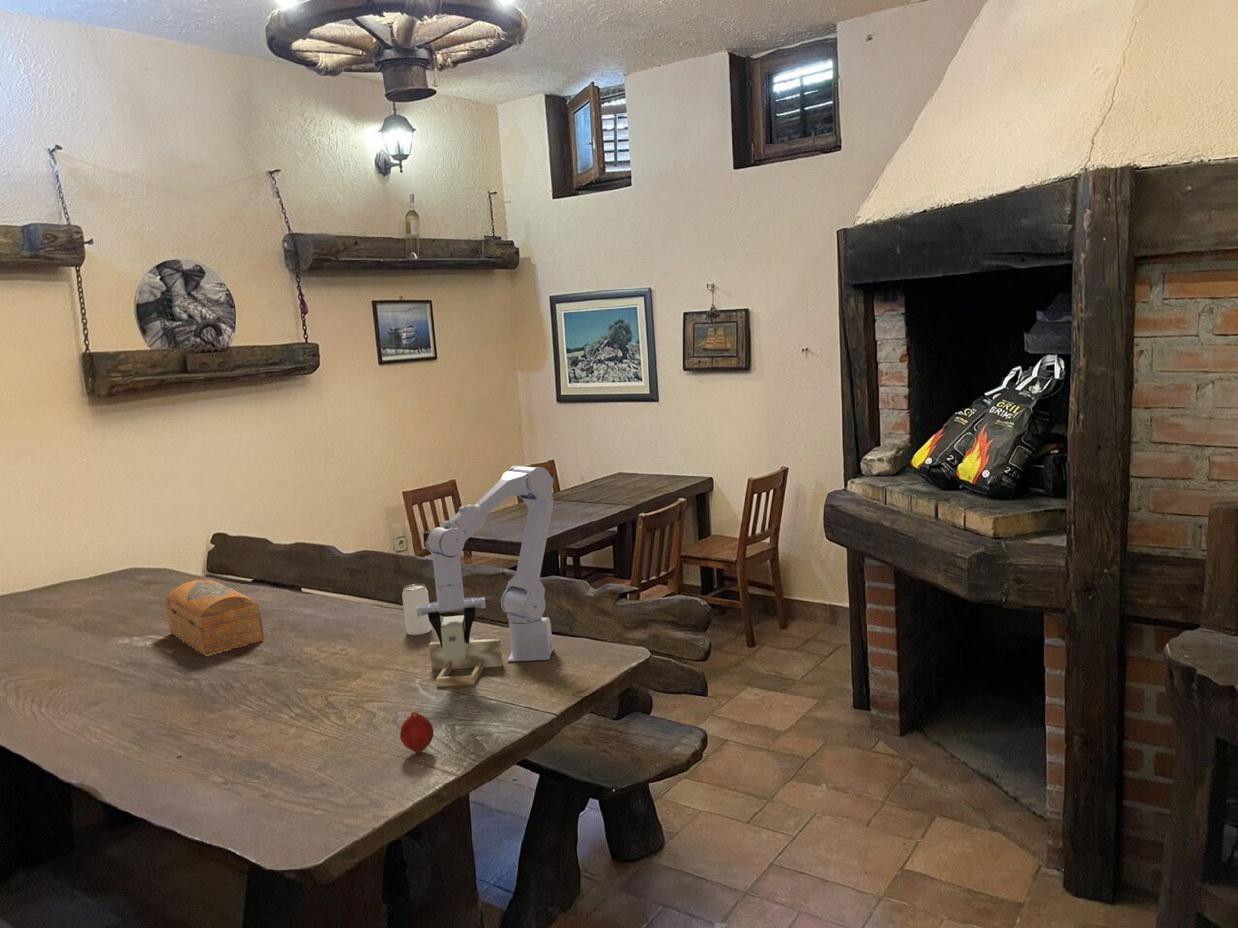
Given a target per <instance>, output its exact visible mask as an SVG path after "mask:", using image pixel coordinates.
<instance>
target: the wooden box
mask: <svg viewBox="0 0 1238 928" xmlns="http://www.w3.org/2000/svg"><path fill="white" fill-rule="evenodd" d="M165 599H166V600H165V601H166V603H165V604H166V613H167V622H168V628H169V632H171V633H172V634H174V635H175V636H177V637H178V638H180V639H181V640H183V641H184V642H186V643H187V644H188V645H190V646H191V647H193V648H194V649H196V650H198V651H199V652H201V653H202V654H203V655H205V656H206V655H209V654H213V653H217V652H220V651H224V650H227V649H233V648H236V647H240V646H244V645H247V644H251V643H255V642H259V641H263V640H264V641H265V635H264V630H263V629H264V628H263V621H262V616H261V612H260V608H259V607H260V606H259V604H258V602H256V601H254V600H253V599H252V598H250V597H249V596H247V595H246V594H243V593H241V592H239V591H237V590H235V589H233V588H232V587H229V586H225V585H223V584H222V583H220V582H217V581H214V580H212V579H211V580H210V579H195V580H192V581H187V582H185V583H182V584H180V585H178V586H177V587H175V588H174V589H173V590H171V592H170V593H169V594H168V595H167V596H166V598H165ZM171 633H170V634H171ZM172 634H171V635H172ZM178 638H177V639H178ZM181 640H180V641H181ZM264 641H263V642H264ZM184 642H183V643H184ZM259 643H260V642H259ZM187 644H186V645H187ZM255 644H256V643H255ZM188 645H187V646H188ZM190 646H189V647H190ZM191 647H190V648H191ZM244 647H245V646H244ZM193 648H192V649H193ZM194 649H193V650H194ZM196 650H195V651H196ZM199 652H198V653H199ZM202 654H201V655H202ZM203 655H202V656H203ZM205 656H204V657H205Z"/></svg>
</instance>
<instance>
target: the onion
mask: <svg viewBox="0 0 1238 928" xmlns="http://www.w3.org/2000/svg"><path fill="white" fill-rule="evenodd" d="M399 733H400V734H399V738H400V741H401V743H402V744H403V746H404V747H405V748H407V749H408V750H410V751H412V752H414V753H415V754H421V753H422V752H423V751H424V750H425V749H426V748H428V747H429V745H430V744H431V742H432V740H433V737H434V728H433V724H432V723H431V722H430V720H429V719H428V718H426V716H424V715H422V714H420V713H419V712H417V711H416V710H413V711H411V713H410V715H409V716H408V717H407V718H406V719H405V720H404V721H403V723H402V725H401V728H400V732H399Z"/></svg>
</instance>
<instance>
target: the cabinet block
mask: <svg viewBox="0 0 1238 928" xmlns="http://www.w3.org/2000/svg"><path fill="white" fill-rule="evenodd" d="M441 622H442V623H441V636H442V646H443V656H444V660H449V659H459V658H465V654H466V650H467V644H466V640H465V621H464V614H462V615H453V616H444V617H443V619H442V621H441Z"/></svg>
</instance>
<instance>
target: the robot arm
mask: <svg viewBox="0 0 1238 928" xmlns="http://www.w3.org/2000/svg"><path fill="white" fill-rule="evenodd" d="M554 481H555V480H554V478H553V476H551V473H550V472H549V471H548V470H547V469H546V468H545V467H542V466H537V467H536V466H535V467H534V466H525V465H524V466H523V465H520V464H515V465H513V466H511V467H510V468H509V469H508V471H505V472H504V473H502V476H501V478H500V479H499V481H498V482H496V483H495V484H494V485H493V486H492V487H491V488H490V490H488V491H487V492H486V493H485V494H484V495H483V496H482V497H481V498H480V499H479V500H478V501H477V502H476V503H475V504H469V503H468V504H466V505H461V506H460V507H458V510H459V511H458V512H457V513H455V515H453V516H452V517H451V518H449V520H445V521H444V522H443V525H442V526H439V527H438V526H437V527H435V528H433V529H432V530H431V531H430V532H429V534H428V536H427V541H425V546H426V548H427V550H428V551H429V553H431V560H432V564H433V565H432V566H433V573H434V574H433V575H434V583H435V593H436V601H435V602H429V604H425V605H419V606H417V617H421V616H423V615H428V618H429V621H430V623H431V627H433V629H434V631H435V633H436V635H437V638H438V642H440V645H441V647H443V646H442V636H441V626H442V623H441V622H442V621H441V620H442V619H441V614H444V613H451V612H459V611H463V615H464V621H465V640H466V644H467V643H469V640H470V635H471V630H472V626H473V622H474V620H475V617H476V614H477V611H476V609H486V598H485V597H484V596H483V597H465V595H464V586H463V585H464V584H463V576H462V566H461V565H462V564H461V552H462V551H463V549H464V547H465V543H466V542H467V540H468V539H469V538H471V537H472V536H473V535H474V534H475V533H476V532H477V531H478V530H480V529H481V528H482V527H483V526H484V525H485V523H486V516H487V515H489V514H490V513H492V512H493V511H494V510H495V509H496V508H498V507H500V505H501V504H502V505H503V503H504V502H505V501H507V500H508V499H509V498H510V497H515V496H518V497H519V498H521V500H522V501H523V502H524V504H525V505H526V507H527V508H528V510H527V516H526V522H525V525H524V530H523V536H522V541H521V547H520V552H519V556H518V561H517V567H516V573H515V575H514V576H512V578H511V579H509V580H508V582H507V585H506V589H505V590H504V592H503V594H502V595H501V598H500V605H501V608H502V610H503V612H504V613H506V616H507V617H506V618H507V619H508V625H509V626H508V627H509V628H508V629H509V636H510V637H509V638H510V649H511V653H510V655H509V657H508V658H507V662H508V663H509V662H510V663H511V662H530V661H531V662H533V661H548V660H550V658H551V655H552V653H553V650H554V645H553V637H552V623H551V619H550V617H549V616H548V617H544V616H543V614H545V613H544V612H545V610H546V599H545V594H546V589H545V588H546V587H544V585H543V583H542V581H541V579H540V577H541V572H542V567H543V561H544V556H545V549H546V546H547V539H548V535H549V531H550V530H549V529H550V524H551V521H552V520H551V519H552V514H553V509H554V496H553V485H554Z"/></svg>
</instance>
